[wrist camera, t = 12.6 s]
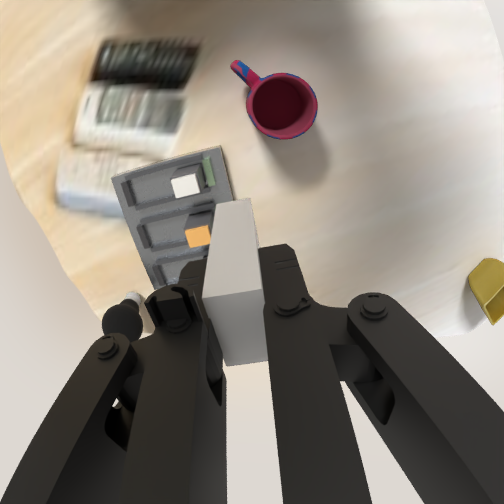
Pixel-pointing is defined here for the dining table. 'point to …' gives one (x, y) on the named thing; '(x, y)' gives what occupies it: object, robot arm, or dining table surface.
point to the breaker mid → (199, 229)
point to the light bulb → (124, 318)
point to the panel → (169, 210)
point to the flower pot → (489, 287)
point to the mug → (278, 102)
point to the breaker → (188, 181)
